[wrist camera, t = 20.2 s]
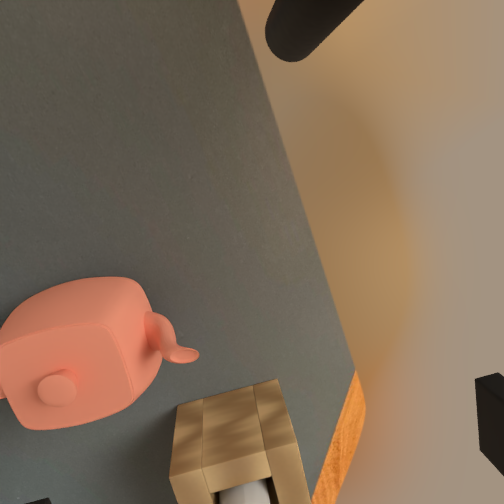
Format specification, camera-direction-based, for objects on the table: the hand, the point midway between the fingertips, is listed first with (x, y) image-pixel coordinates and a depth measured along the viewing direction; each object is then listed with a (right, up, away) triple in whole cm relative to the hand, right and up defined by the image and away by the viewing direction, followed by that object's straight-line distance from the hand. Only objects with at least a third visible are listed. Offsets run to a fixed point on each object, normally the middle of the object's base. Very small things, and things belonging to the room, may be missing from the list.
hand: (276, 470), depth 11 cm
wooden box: (-2, -15, +33) cm, 37 cm away
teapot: (-16, -1, +28) cm, 32 cm away
